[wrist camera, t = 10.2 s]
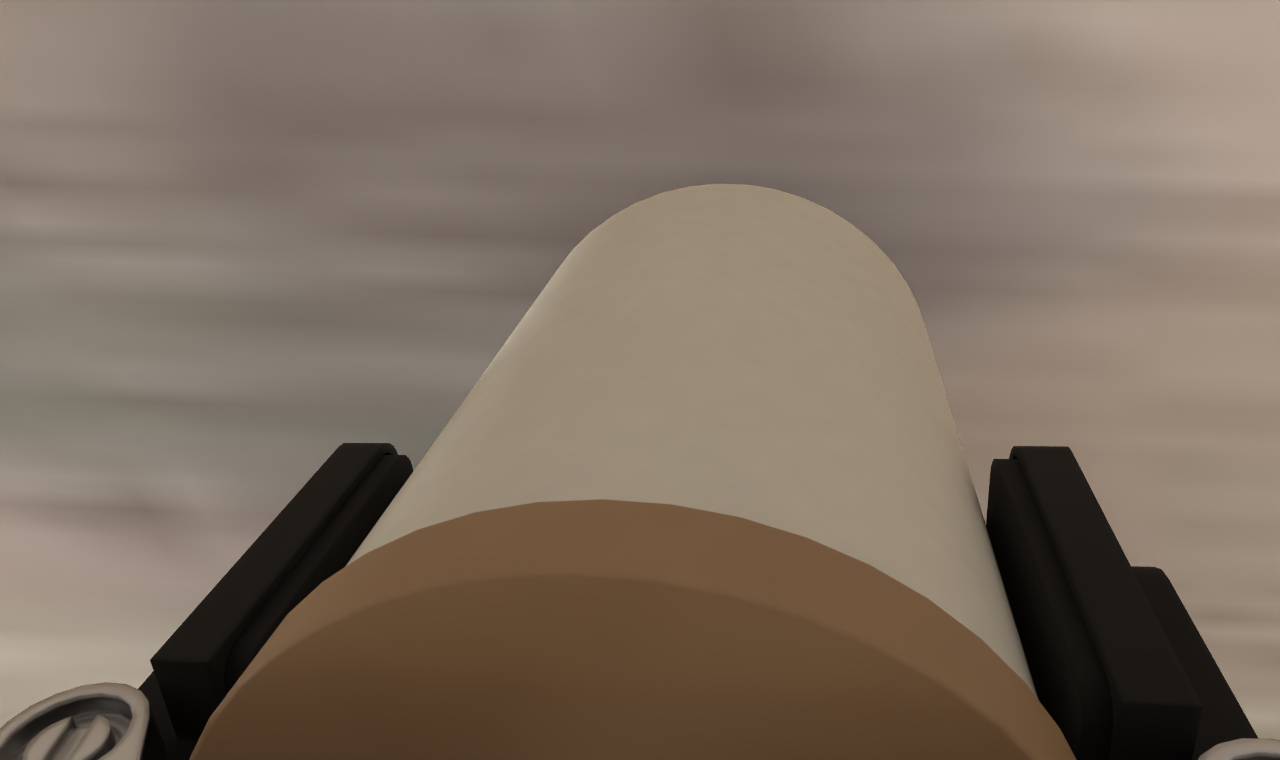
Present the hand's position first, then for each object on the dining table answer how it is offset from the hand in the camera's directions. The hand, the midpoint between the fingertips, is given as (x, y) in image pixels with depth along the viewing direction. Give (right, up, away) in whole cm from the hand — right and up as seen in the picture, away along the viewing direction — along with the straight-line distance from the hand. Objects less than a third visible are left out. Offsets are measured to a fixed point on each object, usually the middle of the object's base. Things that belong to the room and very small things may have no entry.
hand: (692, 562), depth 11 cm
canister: (+1, +2, +5) cm, 5 cm away
